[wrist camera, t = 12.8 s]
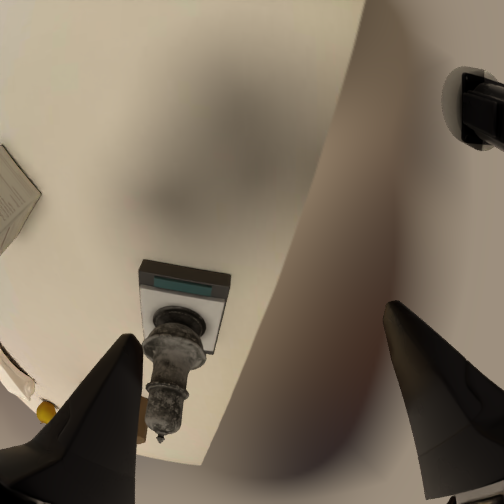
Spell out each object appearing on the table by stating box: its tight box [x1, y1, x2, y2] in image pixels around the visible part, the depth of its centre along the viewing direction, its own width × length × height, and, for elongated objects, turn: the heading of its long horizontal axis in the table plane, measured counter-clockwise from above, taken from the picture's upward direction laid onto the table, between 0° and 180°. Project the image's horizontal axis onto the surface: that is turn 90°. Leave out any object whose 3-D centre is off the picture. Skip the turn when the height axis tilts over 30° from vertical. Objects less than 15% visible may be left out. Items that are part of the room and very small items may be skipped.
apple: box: [37, 401, 56, 424], centre depth 51 cm, size 6×6×8 cm
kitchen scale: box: [138, 260, 231, 355], centre depth 26 cm, size 11×8×2 cm
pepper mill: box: [142, 306, 206, 443], centre depth 21 cm, size 6×6×12 cm
